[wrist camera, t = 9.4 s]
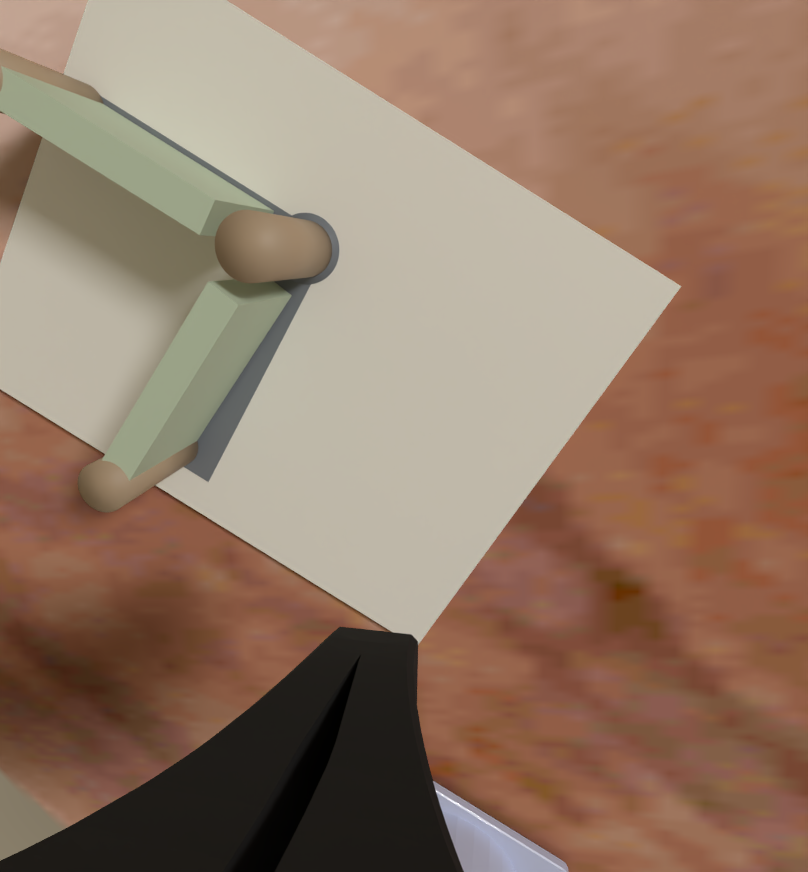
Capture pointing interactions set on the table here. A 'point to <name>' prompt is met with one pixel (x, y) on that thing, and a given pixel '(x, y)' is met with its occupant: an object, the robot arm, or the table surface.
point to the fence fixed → (162, 175)
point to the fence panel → (184, 391)
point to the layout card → (320, 309)
